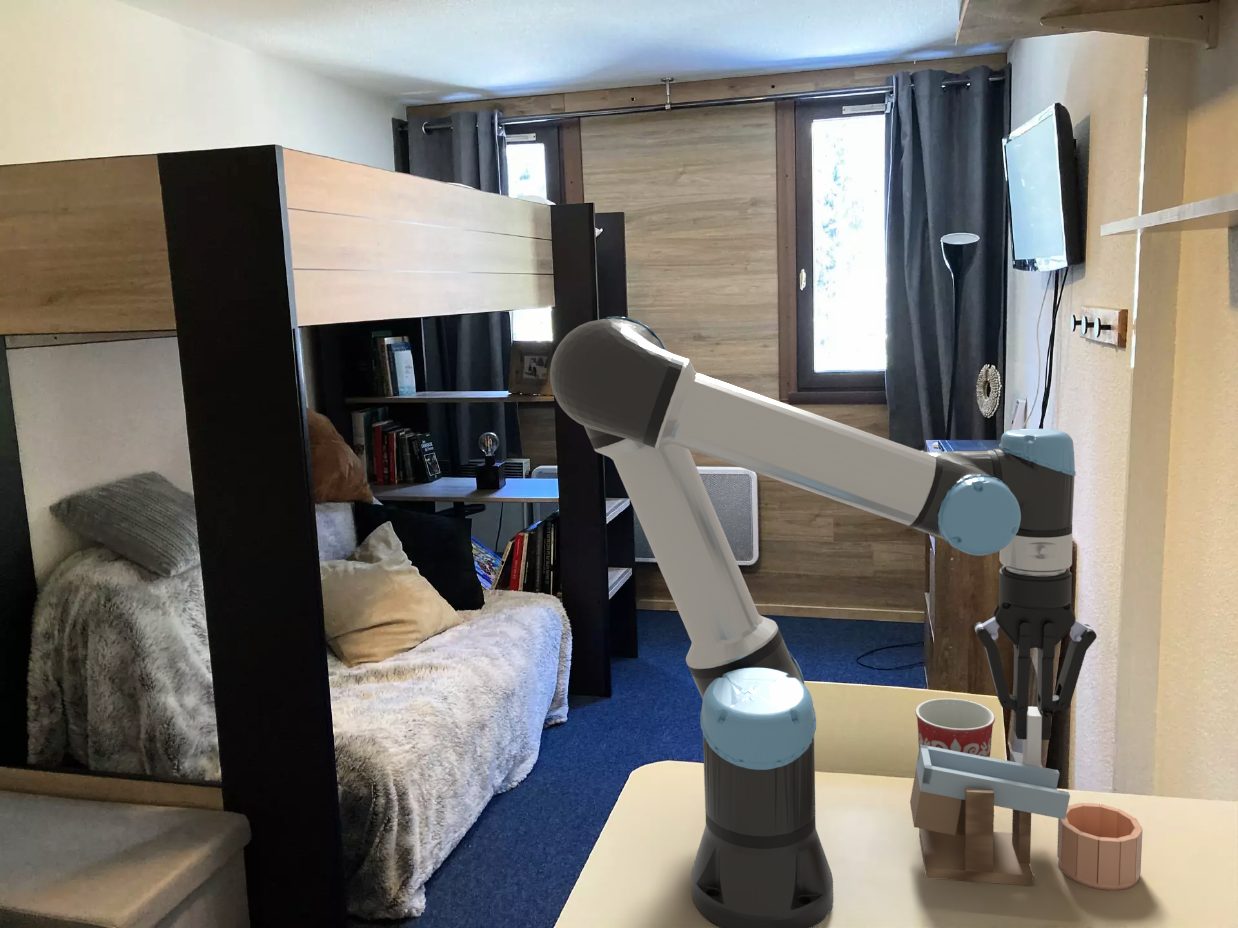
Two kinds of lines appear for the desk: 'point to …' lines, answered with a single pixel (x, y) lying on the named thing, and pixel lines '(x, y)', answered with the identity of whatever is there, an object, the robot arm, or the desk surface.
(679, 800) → the desk surface
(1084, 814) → the cup
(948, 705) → the mug
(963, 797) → the chute
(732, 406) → the robot arm
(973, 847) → the stand
